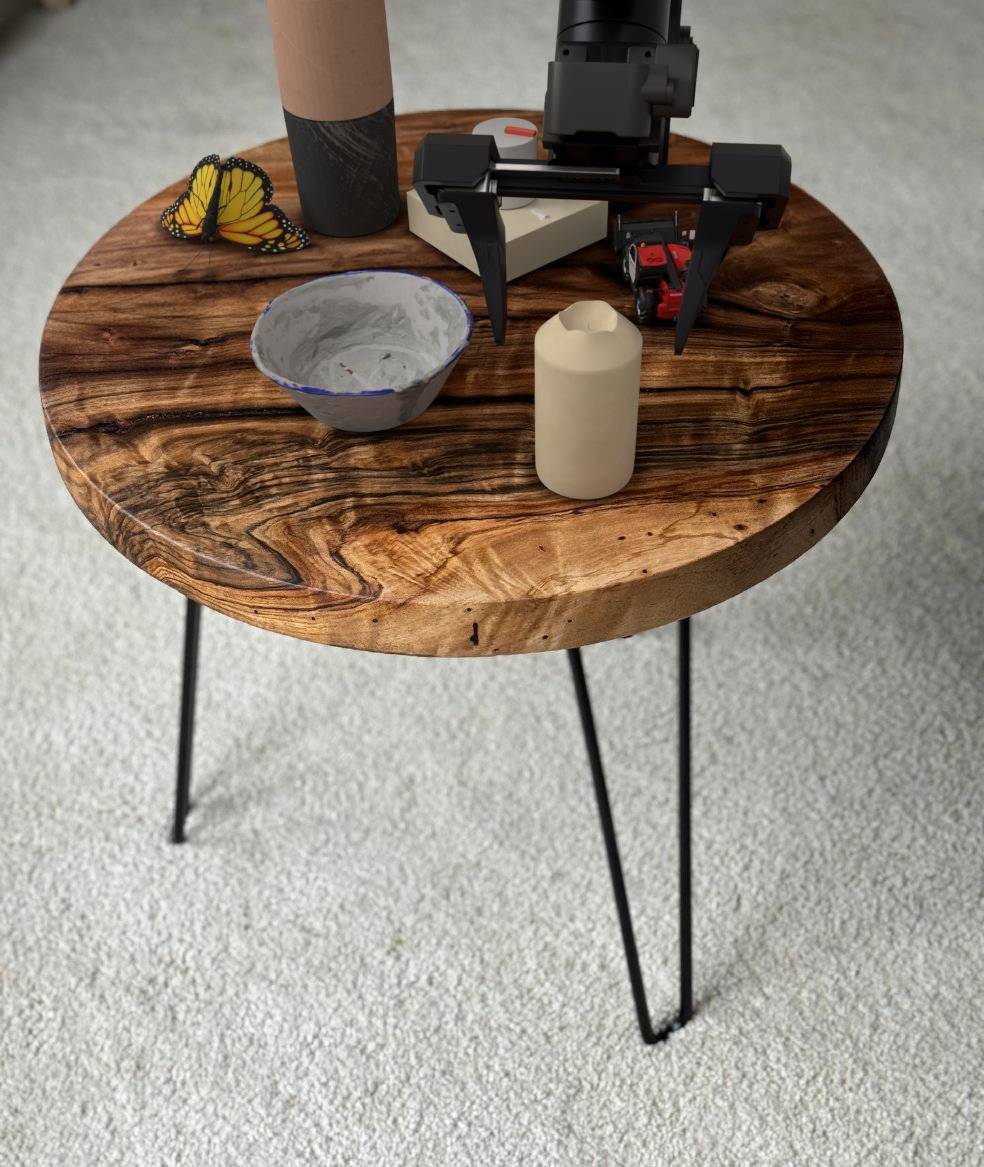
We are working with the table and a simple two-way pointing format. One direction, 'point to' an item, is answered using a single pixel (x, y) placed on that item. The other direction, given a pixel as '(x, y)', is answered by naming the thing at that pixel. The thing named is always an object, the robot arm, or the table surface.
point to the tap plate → (520, 232)
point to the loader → (655, 264)
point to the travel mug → (338, 111)
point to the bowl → (363, 346)
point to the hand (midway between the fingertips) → (588, 349)
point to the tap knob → (512, 146)
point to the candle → (586, 400)
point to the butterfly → (232, 208)
